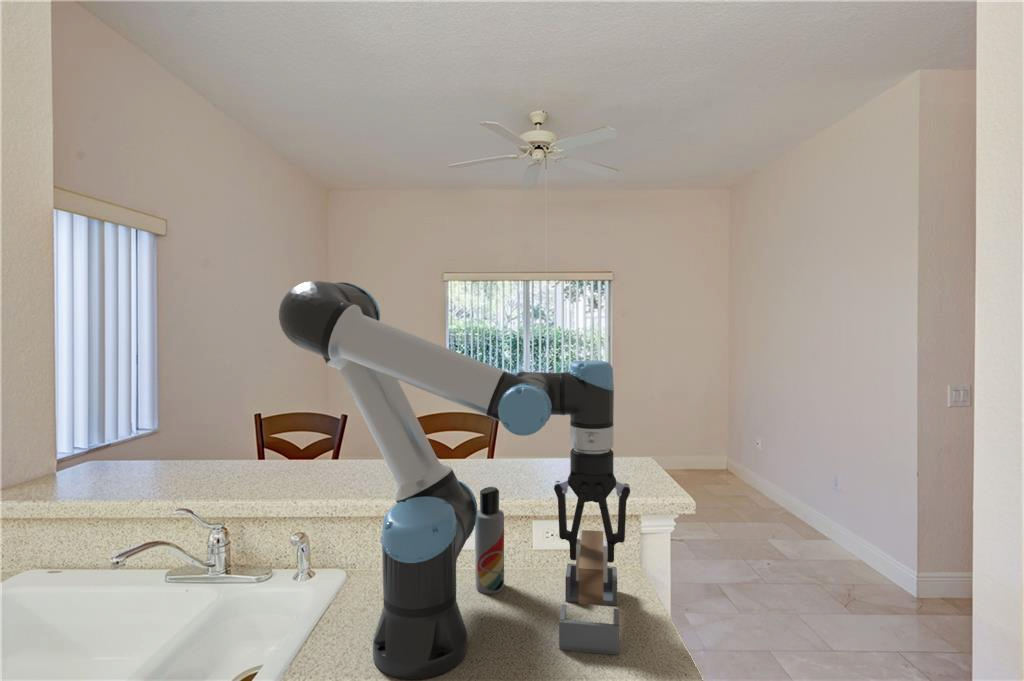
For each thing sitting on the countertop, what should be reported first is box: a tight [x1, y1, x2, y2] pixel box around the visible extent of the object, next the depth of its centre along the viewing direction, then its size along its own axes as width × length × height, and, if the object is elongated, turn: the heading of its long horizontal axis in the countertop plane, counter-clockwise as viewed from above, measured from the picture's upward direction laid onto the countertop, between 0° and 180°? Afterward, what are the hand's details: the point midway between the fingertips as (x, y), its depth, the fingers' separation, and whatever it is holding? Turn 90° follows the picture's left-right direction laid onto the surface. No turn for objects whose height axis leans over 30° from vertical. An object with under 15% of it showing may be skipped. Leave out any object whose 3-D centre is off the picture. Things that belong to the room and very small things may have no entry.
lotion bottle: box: [474, 486, 505, 595], centre depth 112 cm, size 6×6×20 cm
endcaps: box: [558, 563, 620, 656], centre depth 102 cm, size 10×21×5 cm, turn 171°
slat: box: [578, 529, 604, 606], centre depth 101 cm, size 4×16×6 cm, turn 171°
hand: (591, 577), depth 101 cm, fingers closed on slat, 4 cm apart
